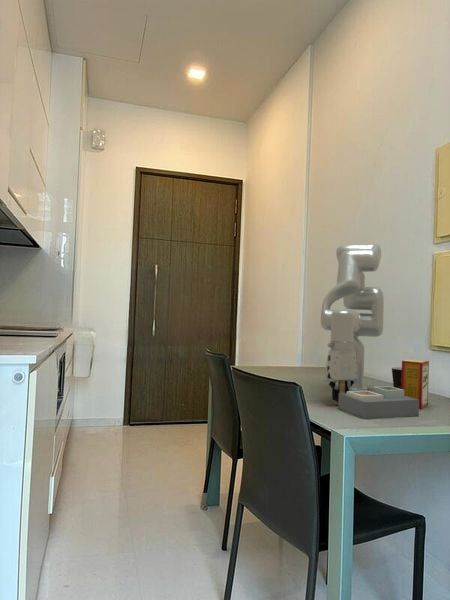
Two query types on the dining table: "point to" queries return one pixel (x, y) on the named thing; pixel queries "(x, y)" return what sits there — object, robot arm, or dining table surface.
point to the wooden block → (341, 388)
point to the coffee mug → (397, 377)
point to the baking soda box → (416, 380)
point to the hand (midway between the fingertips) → (340, 400)
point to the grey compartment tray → (379, 403)
